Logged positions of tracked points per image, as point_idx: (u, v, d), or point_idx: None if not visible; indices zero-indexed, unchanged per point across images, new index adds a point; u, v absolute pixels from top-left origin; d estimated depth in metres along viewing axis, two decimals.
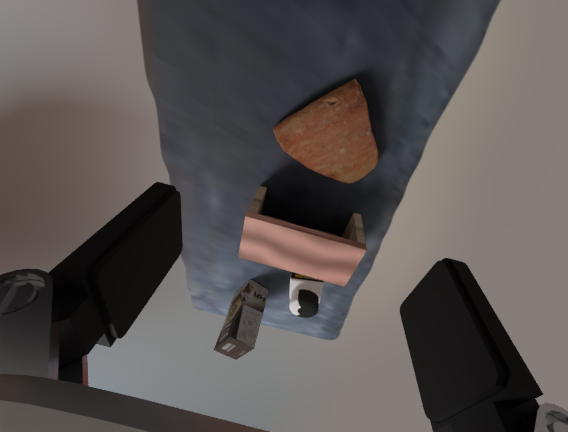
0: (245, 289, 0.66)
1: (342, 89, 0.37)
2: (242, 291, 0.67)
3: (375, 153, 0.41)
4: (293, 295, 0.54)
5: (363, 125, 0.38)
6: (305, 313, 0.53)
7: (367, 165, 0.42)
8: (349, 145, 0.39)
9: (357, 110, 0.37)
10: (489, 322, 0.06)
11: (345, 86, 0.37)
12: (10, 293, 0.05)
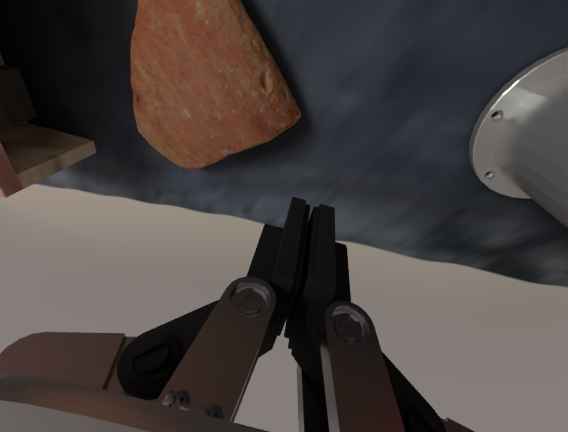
0: None
1: (286, 97, 0.22)
2: None
3: (198, 165, 0.26)
4: None
5: (234, 142, 0.23)
6: None
7: (177, 155, 0.26)
8: (198, 124, 0.22)
9: (256, 130, 0.22)
10: (323, 246, 0.07)
11: (290, 101, 0.22)
12: (245, 297, 0.06)
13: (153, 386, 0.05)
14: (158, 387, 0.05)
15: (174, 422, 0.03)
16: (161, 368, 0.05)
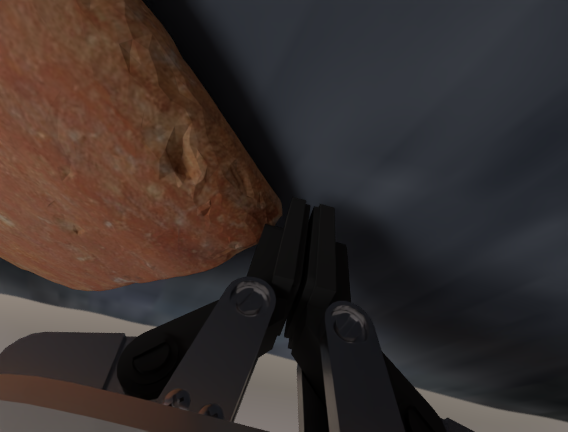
0: None
1: (245, 186, 0.09)
2: None
3: (80, 288, 0.13)
4: None
5: (133, 270, 0.11)
6: None
7: (35, 272, 0.13)
8: (41, 240, 0.10)
9: (176, 255, 0.10)
10: (324, 245, 0.07)
11: (255, 193, 0.09)
12: (245, 297, 0.06)
13: (153, 386, 0.05)
14: (158, 387, 0.05)
15: (174, 422, 0.03)
16: (161, 368, 0.05)
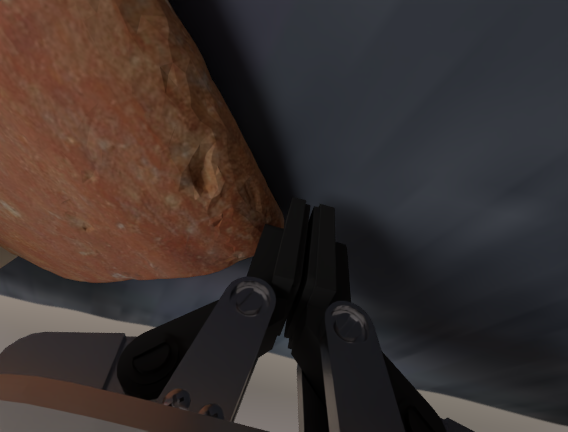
0: None
1: (255, 202, 0.10)
2: None
3: (73, 278, 0.13)
4: None
5: (135, 268, 0.11)
6: None
7: (27, 258, 0.13)
8: (45, 232, 0.10)
9: (181, 259, 0.10)
10: (324, 246, 0.07)
11: (263, 209, 0.10)
12: (245, 297, 0.06)
13: (153, 386, 0.05)
14: (158, 387, 0.05)
15: (174, 422, 0.03)
16: (161, 368, 0.05)
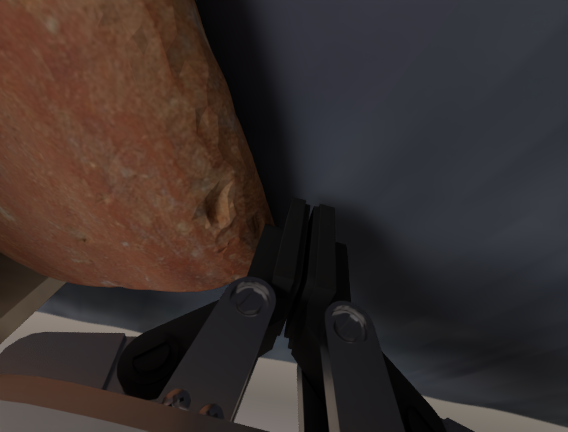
0: None
1: (259, 231, 0.10)
2: None
3: (53, 277, 0.13)
4: None
5: (128, 279, 0.11)
6: None
7: (4, 253, 0.12)
8: (38, 237, 0.09)
9: (179, 277, 0.10)
10: (323, 246, 0.07)
11: None
12: (245, 297, 0.06)
13: (153, 386, 0.05)
14: (158, 387, 0.05)
15: (174, 422, 0.03)
16: (161, 368, 0.05)
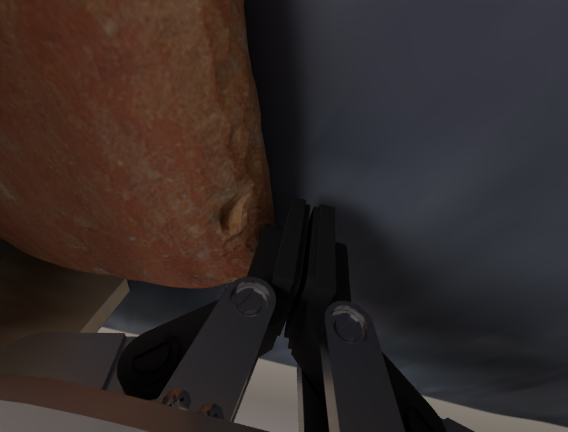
0: None
1: None
2: None
3: (37, 257, 0.12)
4: None
5: (123, 269, 0.11)
6: None
7: None
8: (37, 220, 0.09)
9: (178, 274, 0.10)
10: (324, 246, 0.07)
11: None
12: (245, 297, 0.06)
13: (153, 386, 0.05)
14: (158, 387, 0.05)
15: (174, 422, 0.03)
16: (161, 368, 0.05)
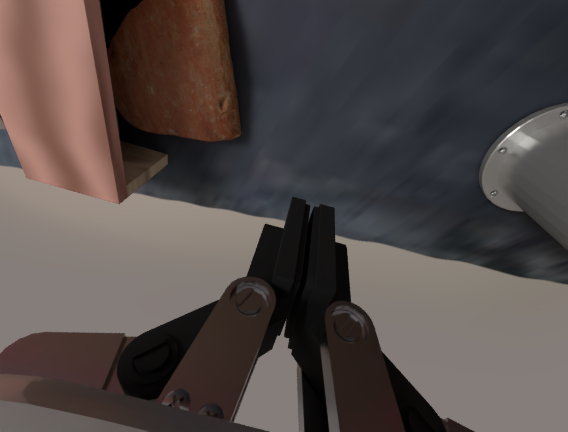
0: None
1: (234, 119, 0.29)
2: None
3: (143, 128, 0.30)
4: None
5: (182, 129, 0.29)
6: None
7: (127, 112, 0.29)
8: (158, 103, 0.27)
9: (203, 130, 0.29)
10: (324, 246, 0.07)
11: (236, 123, 0.29)
12: (245, 297, 0.06)
13: (153, 386, 0.05)
14: (158, 387, 0.05)
15: (174, 422, 0.03)
16: (161, 368, 0.05)
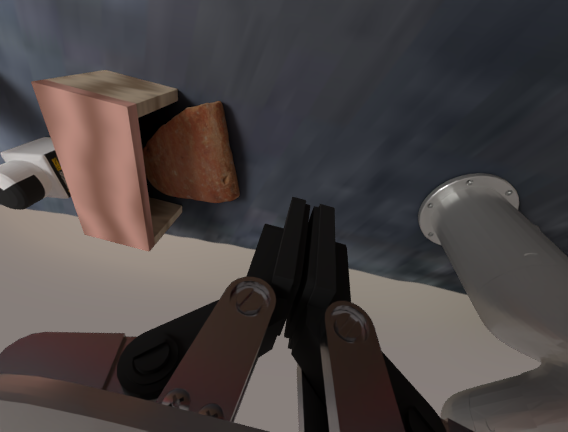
0: None
1: (234, 187, 0.39)
2: None
3: (168, 194, 0.41)
4: (16, 170, 0.34)
5: (196, 195, 0.40)
6: None
7: (156, 183, 0.40)
8: (179, 180, 0.38)
9: (211, 196, 0.39)
10: (323, 246, 0.07)
11: (235, 190, 0.40)
12: (245, 297, 0.06)
13: (153, 386, 0.05)
14: (158, 387, 0.05)
15: (174, 422, 0.03)
16: (161, 368, 0.05)
